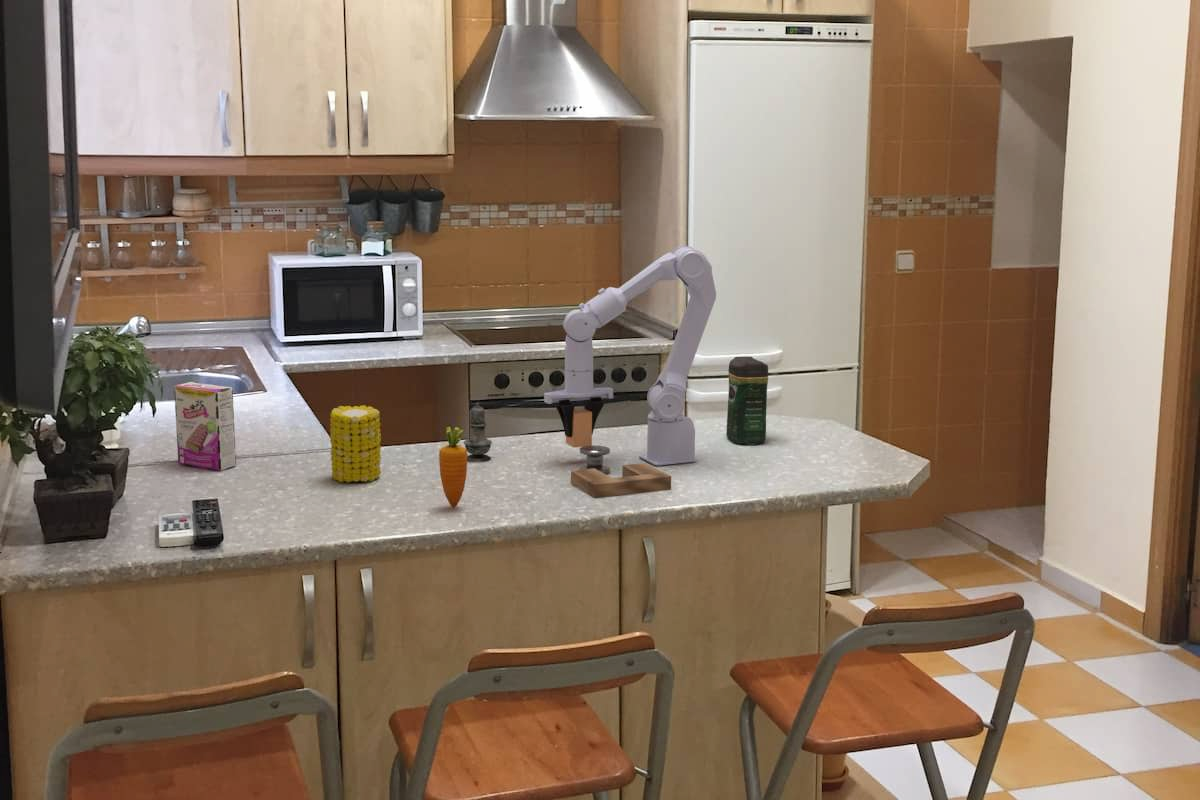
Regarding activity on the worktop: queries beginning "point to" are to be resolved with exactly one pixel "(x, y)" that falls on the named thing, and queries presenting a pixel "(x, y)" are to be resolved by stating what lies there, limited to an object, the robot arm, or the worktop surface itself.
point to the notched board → (621, 481)
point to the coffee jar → (747, 400)
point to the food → (355, 443)
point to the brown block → (581, 429)
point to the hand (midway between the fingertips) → (578, 435)
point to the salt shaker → (477, 436)
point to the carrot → (453, 467)
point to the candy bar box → (205, 426)
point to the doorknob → (595, 457)
